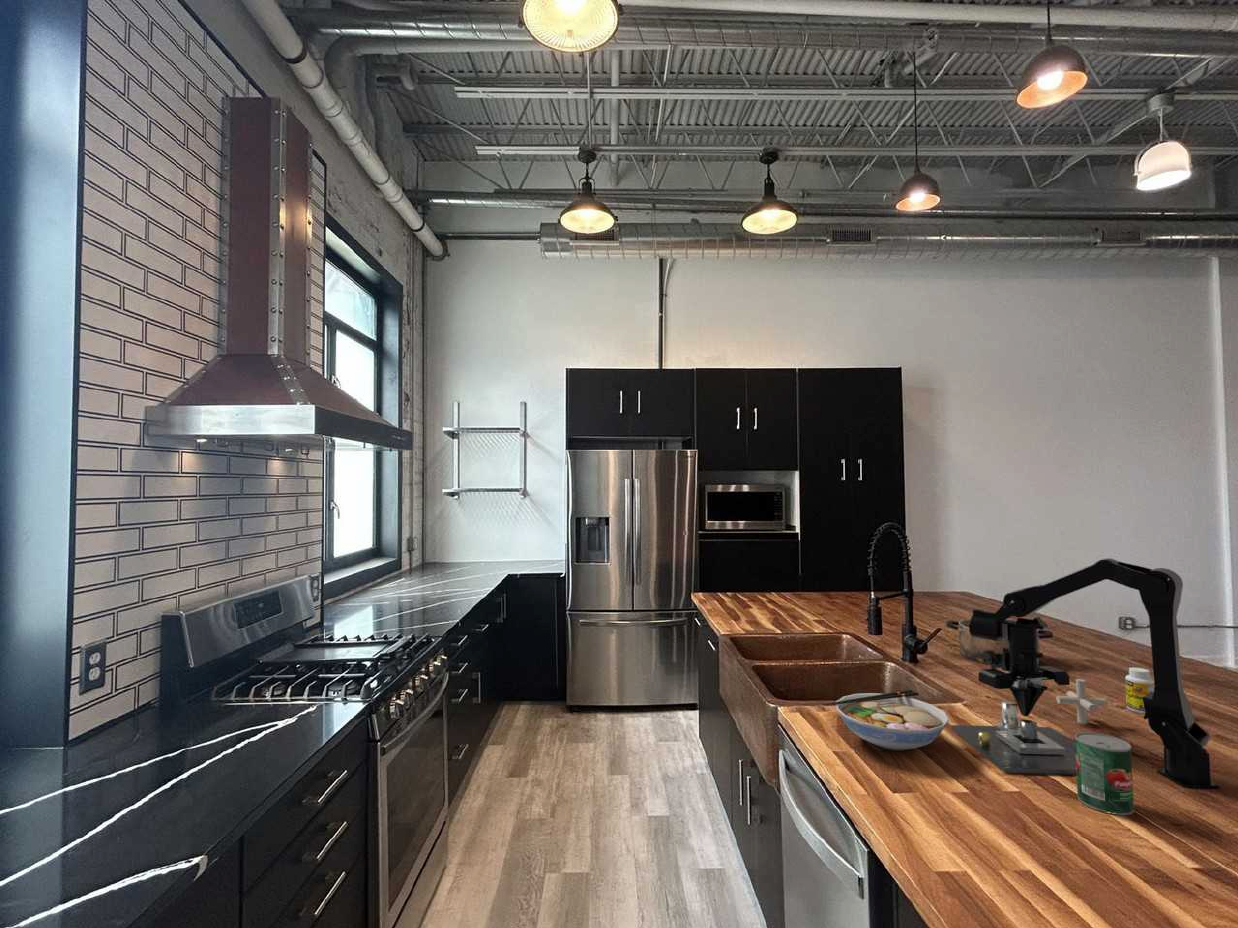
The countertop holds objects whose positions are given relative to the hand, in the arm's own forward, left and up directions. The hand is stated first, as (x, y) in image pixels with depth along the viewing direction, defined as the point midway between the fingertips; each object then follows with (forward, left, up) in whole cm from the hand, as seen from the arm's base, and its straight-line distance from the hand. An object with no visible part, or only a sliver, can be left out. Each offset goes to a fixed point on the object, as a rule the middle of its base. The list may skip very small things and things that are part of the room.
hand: (1024, 715), depth 137 cm
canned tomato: (-30, +4, -5) cm, 31 cm away
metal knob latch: (-5, +4, -3) cm, 8 cm away
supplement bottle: (+18, -38, -5) cm, 42 cm away
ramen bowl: (-6, +32, -5) cm, 33 cm away
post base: (-8, +4, -5) cm, 10 cm away
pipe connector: (+9, -18, -5) cm, 21 cm away
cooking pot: (+66, -29, -5) cm, 72 cm away
